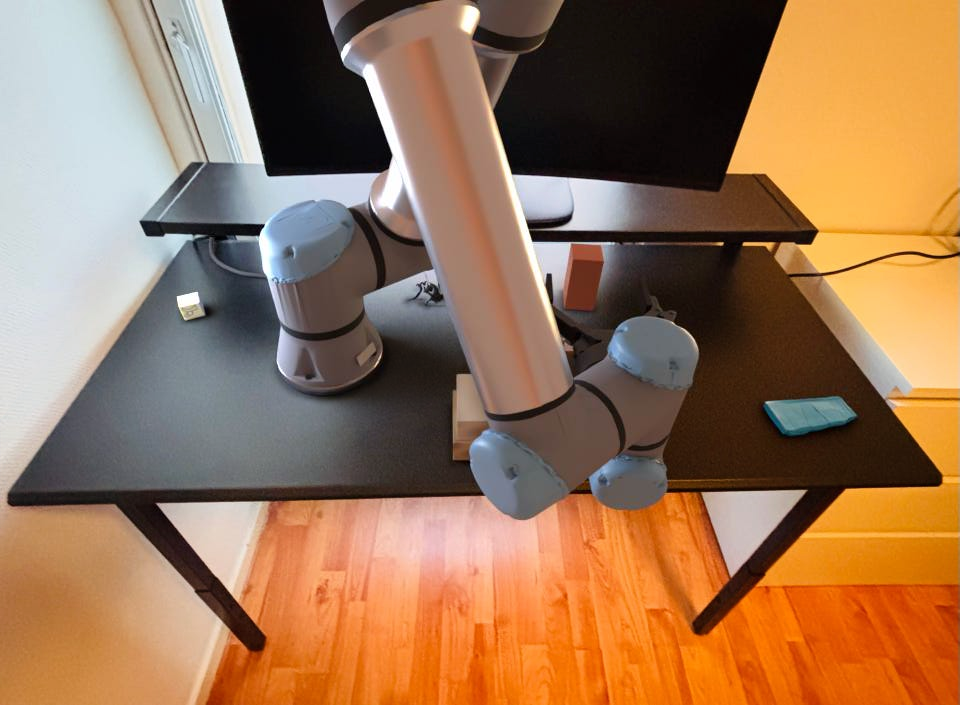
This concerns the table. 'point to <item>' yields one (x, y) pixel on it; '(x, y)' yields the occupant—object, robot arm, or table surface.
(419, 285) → the creature
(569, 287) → the pillar block
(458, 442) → the slab stack
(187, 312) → the alphabet block
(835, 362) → the table surface
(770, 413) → the sponge
